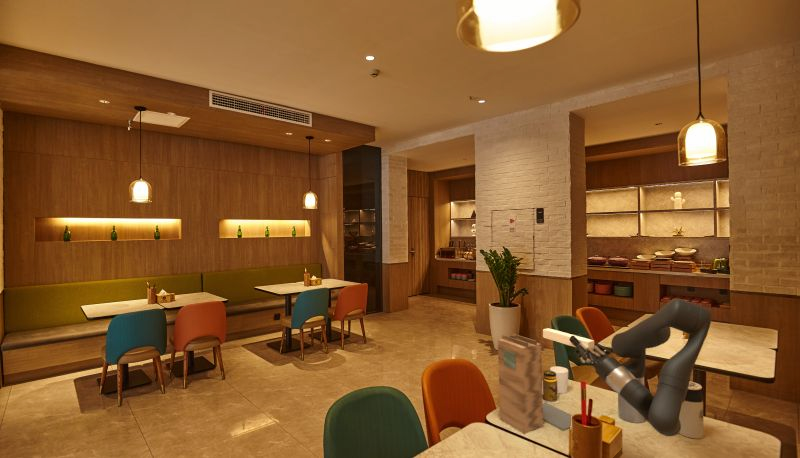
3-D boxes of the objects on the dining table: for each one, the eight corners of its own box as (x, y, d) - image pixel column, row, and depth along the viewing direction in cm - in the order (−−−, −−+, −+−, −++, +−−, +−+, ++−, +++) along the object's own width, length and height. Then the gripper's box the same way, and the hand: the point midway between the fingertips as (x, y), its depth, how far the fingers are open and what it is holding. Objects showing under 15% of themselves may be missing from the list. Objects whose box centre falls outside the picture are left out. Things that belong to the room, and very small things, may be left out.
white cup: (571, 394, 181) (571, 372, 181) (554, 394, 181) (553, 372, 181) (564, 387, 189) (564, 366, 189) (548, 387, 189) (547, 366, 189)
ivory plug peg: (548, 336, 150) (548, 328, 150) (594, 349, 133) (594, 340, 133) (543, 337, 148) (542, 329, 148) (588, 351, 131) (588, 342, 131)
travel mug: (671, 431, 148) (670, 382, 147) (685, 426, 151) (684, 378, 151) (694, 441, 140) (693, 390, 140) (708, 436, 143) (707, 386, 143)
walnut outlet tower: (518, 413, 165) (516, 332, 164) (543, 426, 153) (541, 339, 153) (499, 419, 160) (497, 336, 159) (523, 434, 148) (521, 344, 148)
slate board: (545, 403, 172) (545, 402, 172) (584, 422, 156) (584, 420, 156) (525, 410, 167) (525, 409, 167) (563, 430, 150) (563, 429, 150)
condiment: (559, 403, 173) (558, 375, 172) (538, 401, 175) (537, 374, 175) (557, 396, 180) (557, 369, 179) (537, 394, 182) (537, 368, 182)
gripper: (635, 362, 126) (592, 325, 139) (606, 371, 120) (564, 331, 133) (624, 379, 130) (583, 341, 143) (596, 388, 123) (556, 348, 136)
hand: (574, 336), depth 138 cm, fingers closed on ivory plug peg, 3 cm apart
